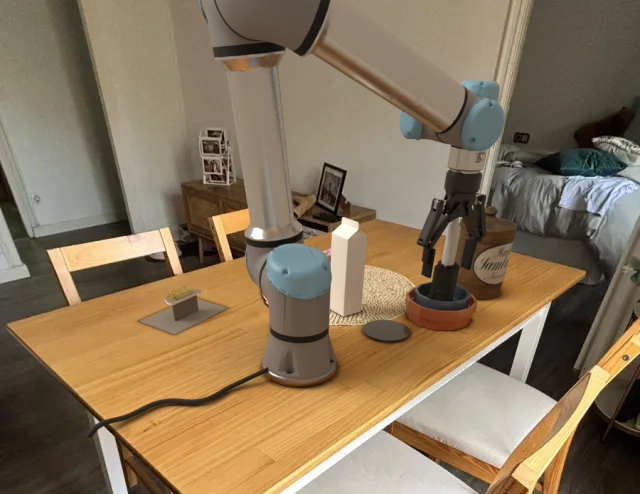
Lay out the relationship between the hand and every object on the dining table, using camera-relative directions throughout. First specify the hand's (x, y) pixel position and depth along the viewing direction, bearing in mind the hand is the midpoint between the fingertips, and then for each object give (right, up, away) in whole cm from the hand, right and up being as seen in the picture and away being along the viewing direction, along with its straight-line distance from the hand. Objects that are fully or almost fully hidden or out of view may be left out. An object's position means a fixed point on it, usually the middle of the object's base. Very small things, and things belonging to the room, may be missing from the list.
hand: (446, 272), depth 114 cm
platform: (-64, -9, +4) cm, 65 cm away
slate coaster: (-14, -14, -1) cm, 20 cm away
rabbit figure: (-25, +17, +40) cm, 50 cm away
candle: (0, -9, +7) cm, 12 cm away
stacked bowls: (0, -9, +7) cm, 11 cm away
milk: (-24, -7, +9) cm, 26 cm away
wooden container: (+13, +2, +22) cm, 26 cm away
